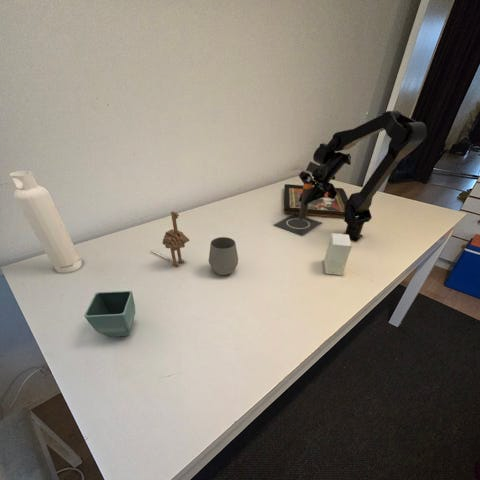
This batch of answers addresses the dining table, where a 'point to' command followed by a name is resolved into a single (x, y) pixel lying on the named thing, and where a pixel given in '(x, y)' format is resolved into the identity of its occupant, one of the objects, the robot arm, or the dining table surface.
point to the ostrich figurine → (174, 240)
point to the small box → (337, 253)
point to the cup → (223, 255)
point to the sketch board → (297, 224)
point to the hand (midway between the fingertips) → (301, 202)
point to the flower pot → (111, 313)
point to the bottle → (45, 222)
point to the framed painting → (314, 202)
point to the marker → (304, 196)
